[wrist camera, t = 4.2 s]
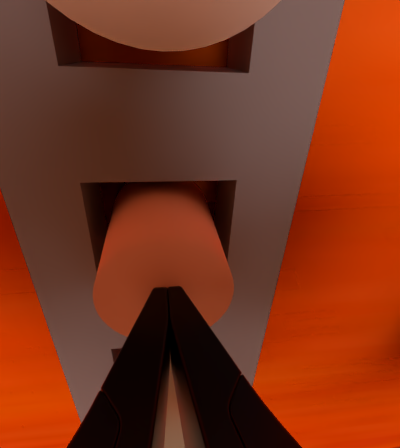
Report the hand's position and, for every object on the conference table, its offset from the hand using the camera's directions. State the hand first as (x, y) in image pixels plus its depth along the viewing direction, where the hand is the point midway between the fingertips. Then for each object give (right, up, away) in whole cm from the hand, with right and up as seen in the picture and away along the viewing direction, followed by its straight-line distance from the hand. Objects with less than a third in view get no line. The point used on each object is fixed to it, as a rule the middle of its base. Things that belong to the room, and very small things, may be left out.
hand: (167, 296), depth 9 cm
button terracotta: (-1, +3, +4) cm, 5 cm away
